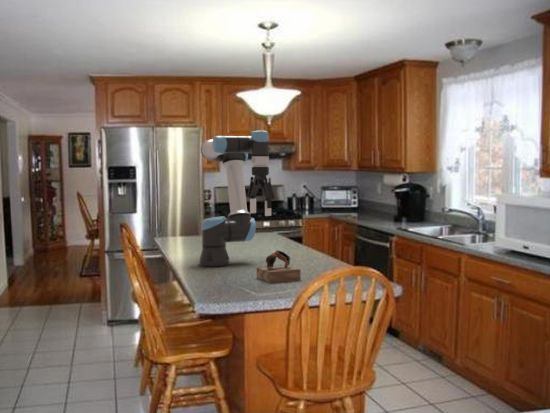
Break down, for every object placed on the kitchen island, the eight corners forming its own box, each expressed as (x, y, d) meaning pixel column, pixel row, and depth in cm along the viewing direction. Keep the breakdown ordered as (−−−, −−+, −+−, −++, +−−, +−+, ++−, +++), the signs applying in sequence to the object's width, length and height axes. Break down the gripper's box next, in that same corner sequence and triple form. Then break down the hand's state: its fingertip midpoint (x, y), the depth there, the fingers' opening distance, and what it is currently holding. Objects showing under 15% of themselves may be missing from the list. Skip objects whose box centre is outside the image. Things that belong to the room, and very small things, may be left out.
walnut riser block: (256, 278, 244) (256, 267, 244) (285, 276, 250) (285, 264, 250) (270, 284, 232) (270, 272, 232) (300, 281, 238) (300, 269, 238)
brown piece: (272, 265, 249) (281, 249, 248) (287, 277, 244) (296, 260, 243) (256, 263, 240) (265, 246, 238) (271, 275, 234) (281, 258, 233)
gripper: (239, 165, 255) (240, 212, 257) (267, 166, 234) (267, 217, 236) (254, 165, 259) (254, 211, 261) (282, 166, 238) (282, 216, 240)
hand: (260, 214), depth 249 cm, fingers open, 13 cm apart
